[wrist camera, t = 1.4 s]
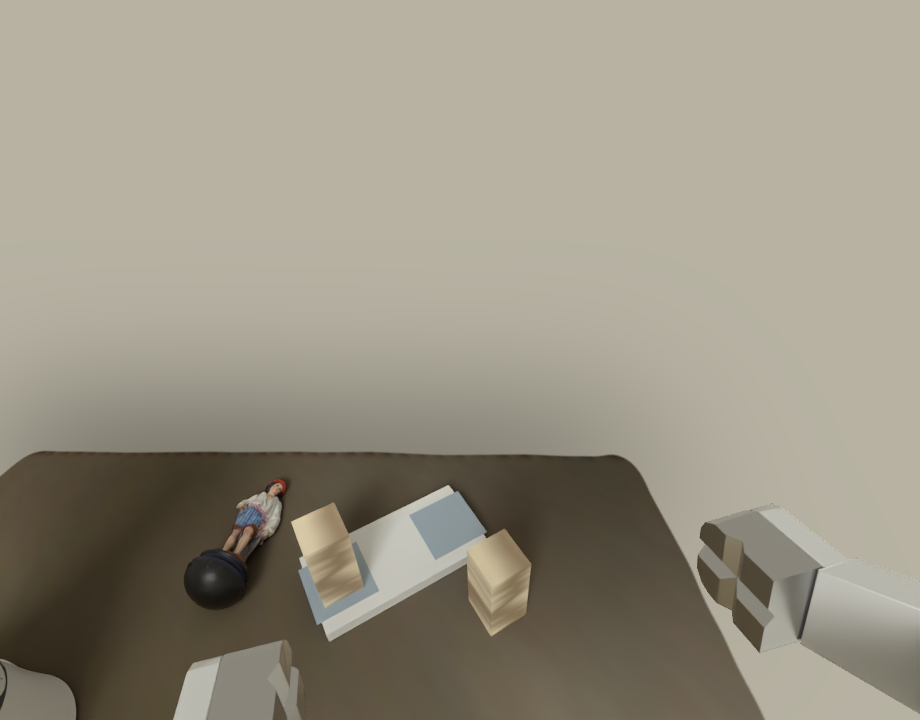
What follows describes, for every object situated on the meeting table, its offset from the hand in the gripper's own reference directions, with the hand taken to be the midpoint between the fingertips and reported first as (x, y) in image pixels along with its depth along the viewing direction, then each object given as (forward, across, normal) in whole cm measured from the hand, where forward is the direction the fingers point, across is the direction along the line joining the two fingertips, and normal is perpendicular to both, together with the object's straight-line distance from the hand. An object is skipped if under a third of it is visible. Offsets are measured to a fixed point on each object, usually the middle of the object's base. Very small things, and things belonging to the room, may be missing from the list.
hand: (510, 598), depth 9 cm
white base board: (+40, -4, -36) cm, 54 cm away
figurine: (+46, -20, -35) cm, 61 cm away
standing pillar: (+37, -10, -35) cm, 52 cm away
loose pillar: (+31, +6, -39) cm, 50 cm away
